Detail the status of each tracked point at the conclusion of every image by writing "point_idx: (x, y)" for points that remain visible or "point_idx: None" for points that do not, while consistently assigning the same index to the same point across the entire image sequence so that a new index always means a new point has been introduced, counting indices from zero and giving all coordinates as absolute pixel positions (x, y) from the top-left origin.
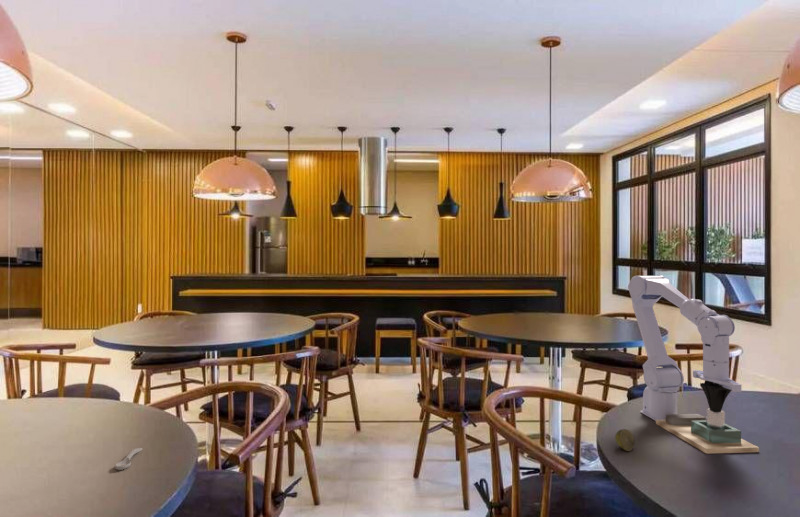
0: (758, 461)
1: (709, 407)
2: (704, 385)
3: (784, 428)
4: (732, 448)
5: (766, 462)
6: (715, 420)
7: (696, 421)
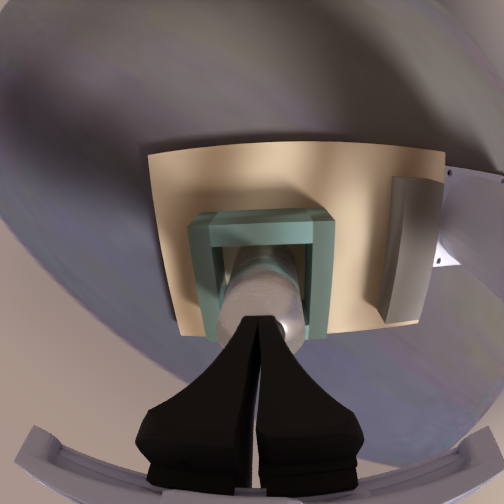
0: (122, 279)
1: (273, 321)
2: (266, 435)
3: None
4: (163, 254)
5: (120, 294)
6: (229, 288)
7: (322, 240)
